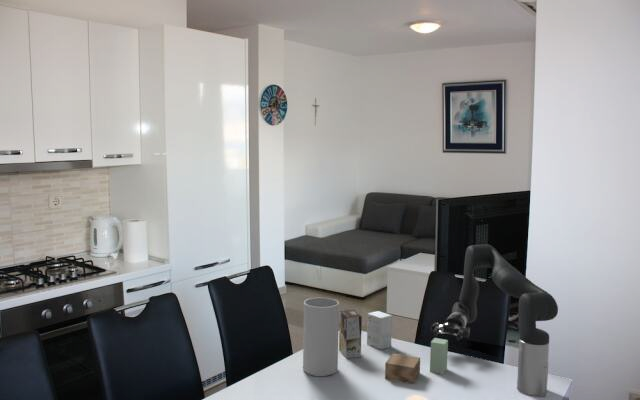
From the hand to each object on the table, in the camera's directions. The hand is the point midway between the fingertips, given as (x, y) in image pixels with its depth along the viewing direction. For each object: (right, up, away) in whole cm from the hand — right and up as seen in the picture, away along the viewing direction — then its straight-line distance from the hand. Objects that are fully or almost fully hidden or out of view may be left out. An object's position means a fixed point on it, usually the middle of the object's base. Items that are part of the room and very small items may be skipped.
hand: (446, 335), depth 213 cm
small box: (-24, -8, +15) cm, 30 cm away
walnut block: (-19, -11, -15) cm, 26 cm away
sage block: (-5, -10, -9) cm, 15 cm away
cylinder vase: (-48, -10, -11) cm, 50 cm away
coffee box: (-36, -9, +6) cm, 38 cm away
